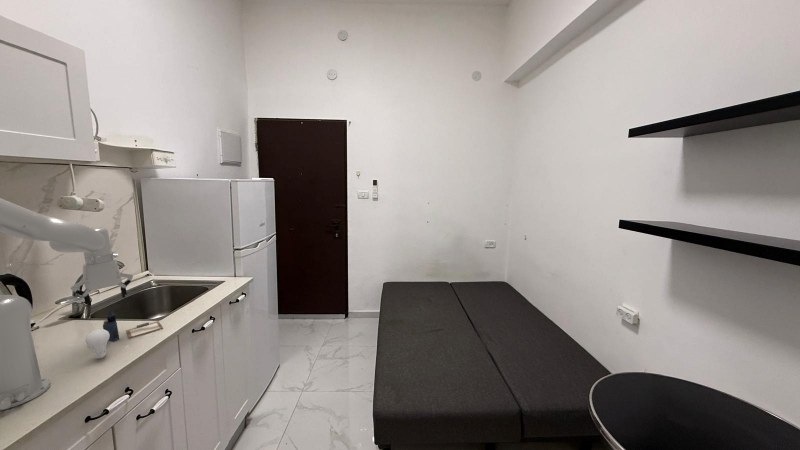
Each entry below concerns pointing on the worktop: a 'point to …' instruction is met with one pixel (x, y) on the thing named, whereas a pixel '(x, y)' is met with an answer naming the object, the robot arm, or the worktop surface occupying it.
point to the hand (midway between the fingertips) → (107, 300)
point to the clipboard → (143, 329)
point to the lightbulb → (98, 342)
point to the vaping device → (111, 327)
